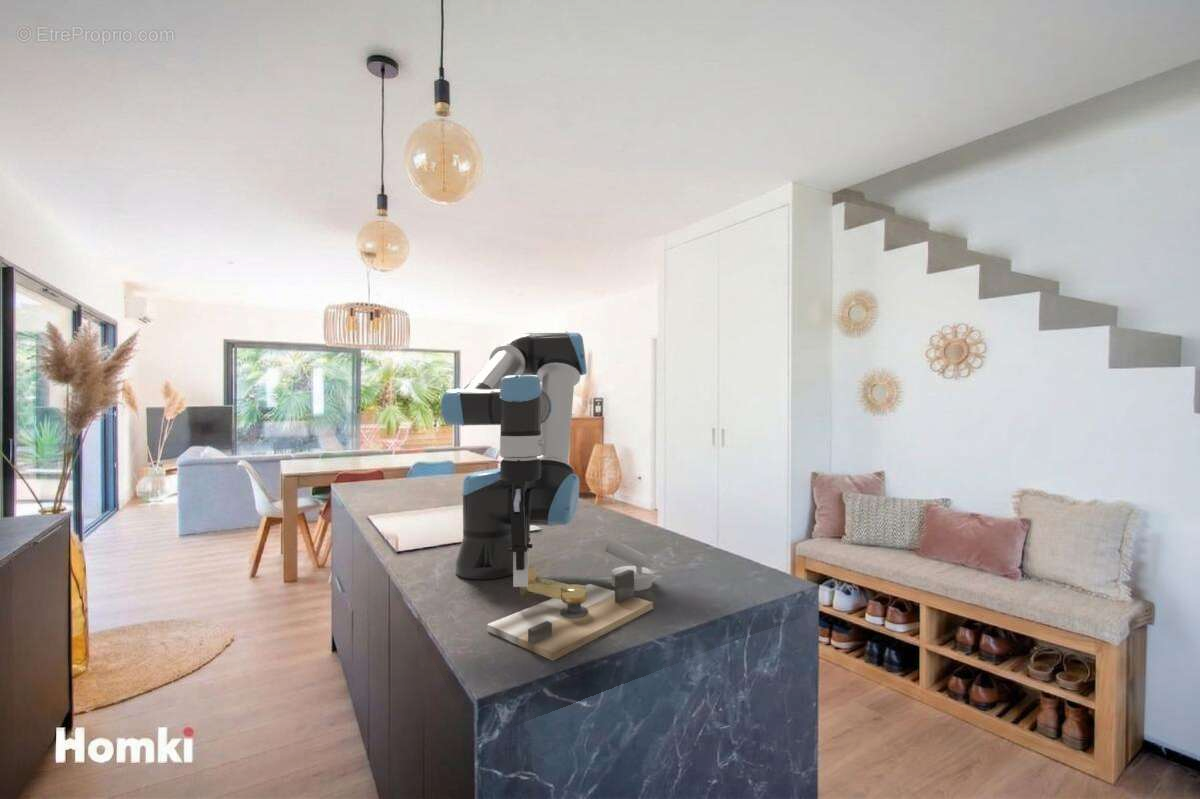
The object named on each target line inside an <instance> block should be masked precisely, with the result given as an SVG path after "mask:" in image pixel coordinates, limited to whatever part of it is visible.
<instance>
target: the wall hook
mask: <svg viewBox="0 0 1200 799" xmlns="http://www.w3.org/2000/svg"><path fill="white" fill-rule="evenodd" d="M605 552H606V553H608V554H610V555H613V556H614V557H616V558H618V559H621V560H622V561H624V562H627V563H628V564H630V565H624V566H618V567H615V568H613V569H612V571H611V585H612V587H613V588H615V575H617V574H619V573H622V572H624V571H627V570H633V571H634V592H636V591H637V592H638V591H644V590H647V589H650V588H651V587H652V585H653V572H652V570H650V568H647V567H645V566H646V564H647V562H648V558H647V555H645V554H644V553H642V552H640V551H638V550H636V549H635V548H632V547H630V546H628V545H627V544H624V543H623V542H620V541H619V540H616V539H614V538H612V537H610V539H609V541H608V543H607V545H606V546H605Z"/></svg>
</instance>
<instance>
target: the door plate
mask: <svg viewBox="0 0 1200 799" xmlns="http://www.w3.org/2000/svg"><path fill="white" fill-rule="evenodd" d="M584 586H585V587H586V601H585V602H584V603H581V604H566V603H563V602H562V599H557V598H553V597H551V598H550V599H548V600H545V601H543V602H539V603H536V604H535V605H532V606H529V607H528V608H525V609H522V610H519V611H517V612H515V613H512V614H510V615H506V616H504V617H502V618H500V619H496V620H494V621H491V622H489V623H487V624H486V625H487V626H486V628H487V629H486V631H487V632H488V633H491V634H492V635H495V636H497V637H500V638H501V639H504V640H506V641H508V642H510V643H512V644H515V645H517V646H519V647H521V648H524V649H527V650H529V651H531V652H532V653H535V654H537V655H539V656H542V657H544V658H546V659H548V660H551V661H556V660H557V659H559V658H561V657H563V656H566V655H568V654H569V653H571V652H573V651H575V650H576V649H579V648H580V647H582V645H583V646H584V645H587V644H588V643H590V642H593V641H594V640H596V639H598V638H599V637H600V638H601V636H603V635H605V634H607V633H609V632H611V631H613V630H615V629H617V628H619V627H621V626H623V625H625V624H627V623H629V622H631V621H632V620H634V619H636V618H638V617H640V616H642V615H643V614H646V613H648V612H650V611H651V610H653V609H654V602H653V601H649V600H646V599H642V598H640V597H636V596H635V591H634V571H633V570H627V571H624V572H622V573H619V574H617V575H615V587H614V590H611V589H610V588H609V589H608V588H605V587H603V586H598V585H595V584H591V583H587V584H585V585H584Z"/></svg>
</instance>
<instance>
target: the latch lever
mask: <svg viewBox="0 0 1200 799" xmlns="http://www.w3.org/2000/svg"><path fill="white" fill-rule="evenodd" d="M519 594H520V596H523V597H532V596H534V595H535V596H536V594H538V595H542V596H545V597H550V598H557V599H562V602H563V603H566V604H581V603H584V602H585V601H586V587H585V585H582V584H579V583H578V584H577V583H576V584H575V583H574V584H568V583H564V582H561V581H556V580H552V579H547V578H543V577H538V576H537V566H536V565H534V564H529V585H528V587H519Z"/></svg>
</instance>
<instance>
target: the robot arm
mask: <svg viewBox="0 0 1200 799" xmlns="http://www.w3.org/2000/svg"><path fill="white" fill-rule="evenodd" d="M586 362H587V360H586V352H585V344H584V339H583V336H582V334H580V333H579V332H568V331H565V332H528V333H522V334H518V335H515V336H513V337H511V338H509V339H507V340H504V341H503V342H501V343H500V344H498V345H497V346H496V347H495V348H494V349H493V350H492V351H491V353H490V356H489V360H488V361H487V363H486V364H485V365H484V366H483V367H482V369H480V370H479V371H478V373H477V374H476V375H474V377H473V378H472V379H471V380H470V381H469V383H467V385H466V386H465V387H464V388H453V389H447V390H446V391H444V393H443V395H442V397H441V402H440V411H441V416H442V417H441V418H442V419H443V421H444V422H445V423H446V424H448V425H451V426H461V427H465V426H500V436H499V456H500V458H503V459H501V461H500V462H499V464H500V465H499V466H500V467H498V468H491V469H485V470H479V471H475V472H472V473H468V474H467V475H466V476H465V477H464V479H463V483H462V484H463V486H462V494H461V496H462V540H461V543H460V546H459V550H458V554H457V558H456V560H455V563H454V564H455V571H454V572H455V574H456V575H457V576H458V577H461V578H465V579H468V580H469V579H470V580H494V579H500V578H505V577H509V576H512V575H513V576H512V577H513V580H512V584H513V586H512V587H513V588H520V587H528V585H529V565H530V564H529V562H530V558H529V557H530V554H529V553H530V552H529V551H530V550H529V549H533V546H534V545H533V543H530V541H531V538H530V537H531V535H530V533H531V532H530V531H531V526H547V527H548V526H549V527H554V526H566V525H569V524H570V523H571V522H572V521H573V519H574V518H575V515H576V511H577V508H578V503H579V497H580V493H579V492H580V487H581V486H580V477H579V475H578V474H576V473H575V470H574V467H573V466H572V465H571V464H570V463H569V458H570V457H569V454H570V442H571V441H570V440H571V431H572V430H571V429H572V416H573V403H574V392H575V391H574V389H575V386H577V384H578V383H579V382H580V380H581V376H584V375H586V374H587V363H586Z"/></svg>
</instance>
